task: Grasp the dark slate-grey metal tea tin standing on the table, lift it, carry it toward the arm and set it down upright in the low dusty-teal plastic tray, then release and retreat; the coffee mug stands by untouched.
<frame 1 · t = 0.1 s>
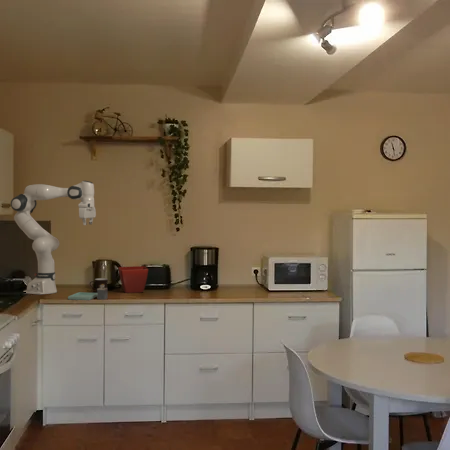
hand: (87, 224, 385), 48 cm above the table, fingers open, 8 cm apart
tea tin: (102, 298, 371), on the table
tray: (83, 297, 374), on the table
coffee mug: (99, 293, 391), on the table
plant pot: (133, 291, 401), on the table
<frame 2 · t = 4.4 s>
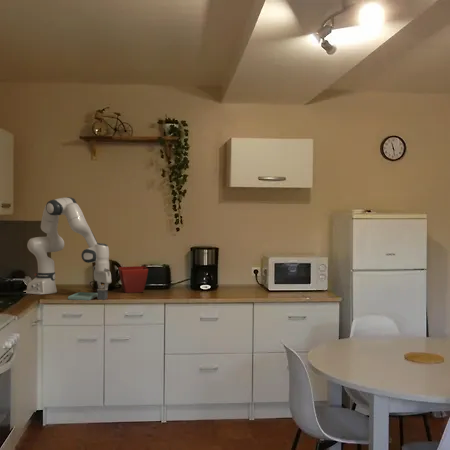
hand: (102, 288, 370), 7 cm above the table, fingers open, 8 cm apart
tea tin: (102, 299, 371), on the table, touching gripper
everything else where it was.
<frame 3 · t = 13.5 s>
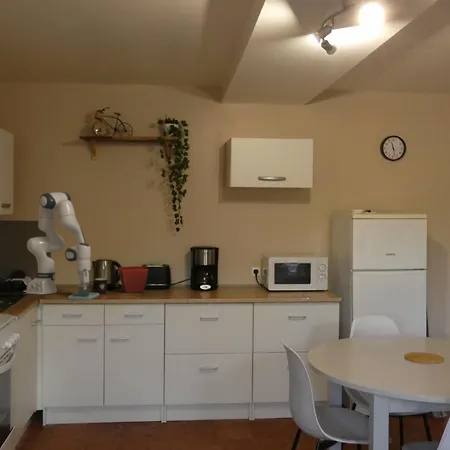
hand: (83, 287, 375), 6 cm above the table, fingers open, 8 cm apart
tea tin: (83, 295, 374), point 1 cm above the table, tilted 6°, touching gripper
everything else where it was.
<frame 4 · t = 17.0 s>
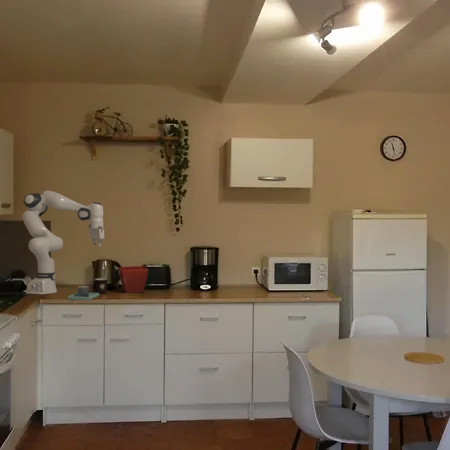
hand: (97, 245, 393), 33 cm above the table, fingers open, 8 cm apart
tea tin: (83, 296, 374), point 1 cm above the table, touching tray
everything else where it was.
at the end: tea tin inside the target area on the tray (0.7 cm from its centre), point 0.6 cm above the tray's base; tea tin tilted 0°; the gripper is holding nothing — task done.
